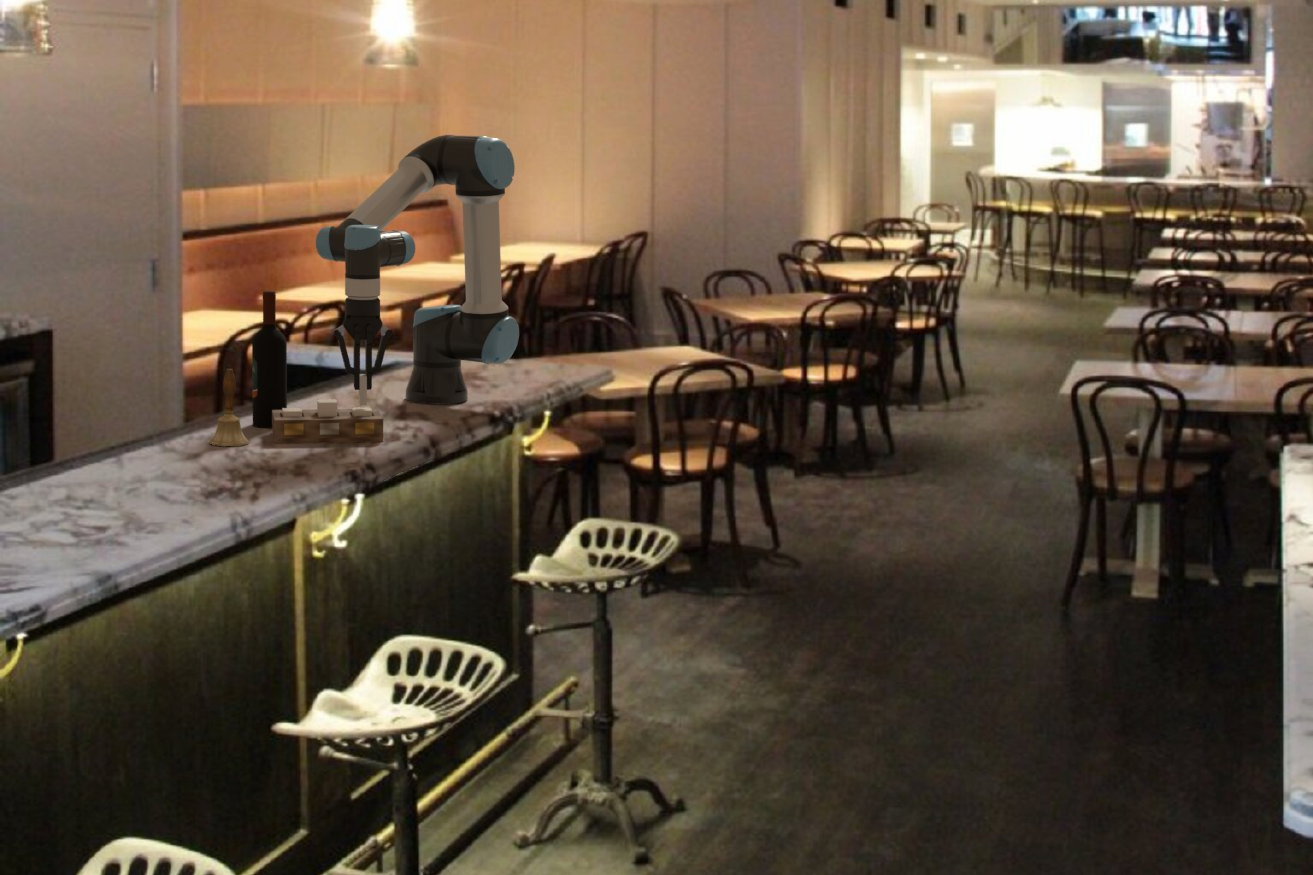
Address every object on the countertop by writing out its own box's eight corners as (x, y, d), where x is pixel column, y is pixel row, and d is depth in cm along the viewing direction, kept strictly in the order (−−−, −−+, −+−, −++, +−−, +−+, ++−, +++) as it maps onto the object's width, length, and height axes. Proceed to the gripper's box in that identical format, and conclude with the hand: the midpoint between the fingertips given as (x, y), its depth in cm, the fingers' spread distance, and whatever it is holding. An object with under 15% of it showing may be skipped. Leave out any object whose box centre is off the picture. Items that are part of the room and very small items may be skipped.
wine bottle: (270, 429, 400) (269, 294, 394) (245, 425, 404) (244, 291, 398) (294, 424, 406) (293, 292, 400) (269, 420, 410) (268, 289, 404)
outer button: (301, 430, 395) (300, 407, 394) (302, 434, 391) (302, 411, 390) (282, 430, 394) (282, 408, 393) (283, 434, 390) (283, 411, 389)
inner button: (370, 429, 398) (370, 407, 397) (372, 433, 395) (372, 410, 394) (351, 429, 397) (351, 407, 396) (353, 433, 394) (353, 410, 393)
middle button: (335, 421, 396) (335, 399, 395) (337, 425, 392) (337, 402, 391) (317, 421, 395) (317, 399, 394) (318, 425, 391) (318, 402, 390)
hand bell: (230, 437, 390) (229, 364, 387) (257, 443, 385) (256, 369, 382) (200, 443, 383) (199, 368, 380) (227, 448, 379) (226, 373, 375)
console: (377, 430, 403) (377, 408, 402) (383, 441, 391) (383, 419, 390) (272, 432, 397) (272, 409, 396) (274, 443, 385) (274, 420, 384)
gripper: (391, 294, 395) (390, 400, 400) (330, 295, 392) (331, 401, 397) (394, 299, 388) (394, 407, 393) (333, 299, 385) (334, 408, 390)
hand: (362, 404), depth 395 cm, fingers closed
